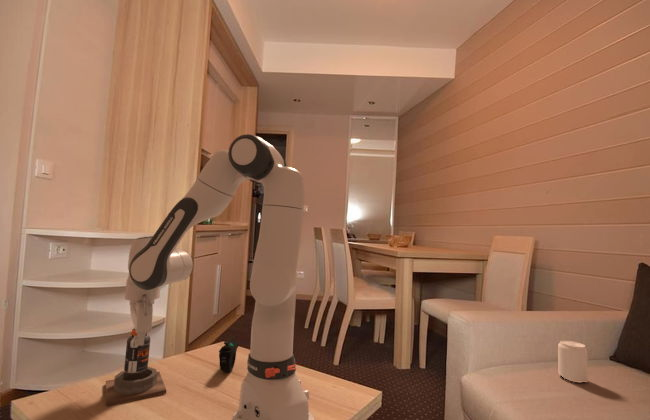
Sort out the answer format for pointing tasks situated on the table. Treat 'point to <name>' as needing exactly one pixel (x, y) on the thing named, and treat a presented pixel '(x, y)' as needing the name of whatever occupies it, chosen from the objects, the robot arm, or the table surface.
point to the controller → (228, 355)
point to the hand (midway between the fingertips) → (138, 340)
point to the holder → (134, 386)
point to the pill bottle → (136, 354)
